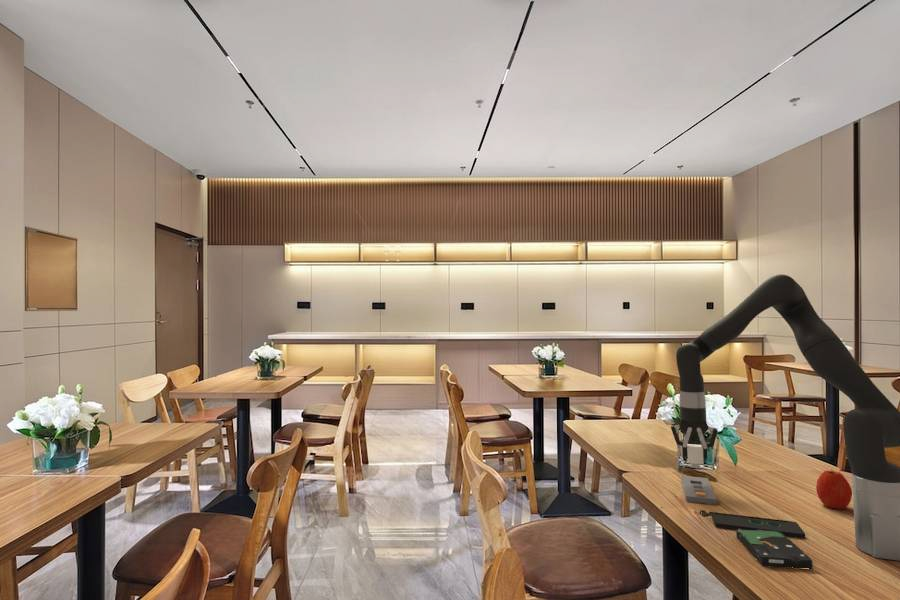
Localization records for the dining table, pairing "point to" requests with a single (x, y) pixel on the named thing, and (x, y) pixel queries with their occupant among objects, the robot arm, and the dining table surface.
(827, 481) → the apple
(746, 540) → the disk drive
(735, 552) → the dining table surface
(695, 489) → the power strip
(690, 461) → the charger
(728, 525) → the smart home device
